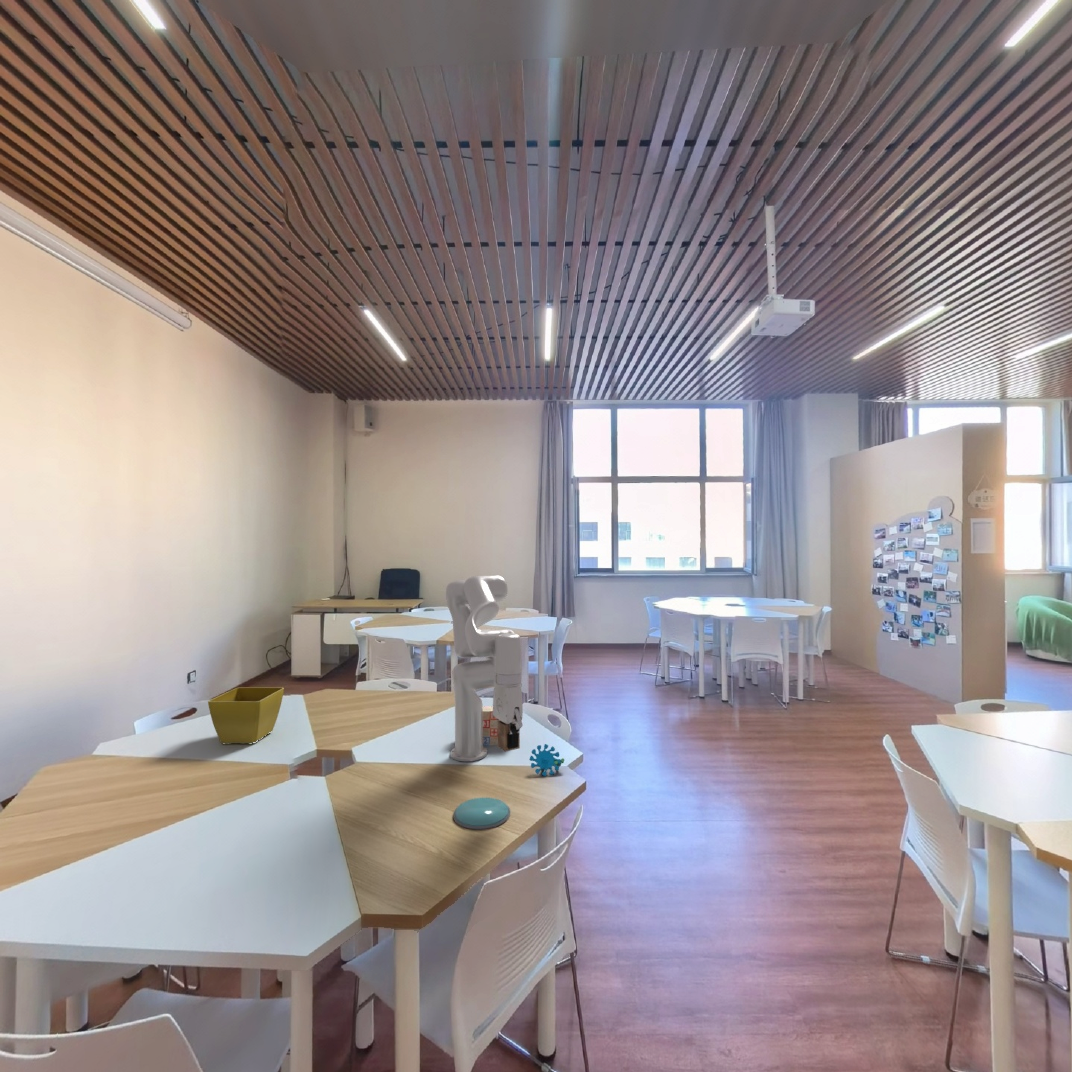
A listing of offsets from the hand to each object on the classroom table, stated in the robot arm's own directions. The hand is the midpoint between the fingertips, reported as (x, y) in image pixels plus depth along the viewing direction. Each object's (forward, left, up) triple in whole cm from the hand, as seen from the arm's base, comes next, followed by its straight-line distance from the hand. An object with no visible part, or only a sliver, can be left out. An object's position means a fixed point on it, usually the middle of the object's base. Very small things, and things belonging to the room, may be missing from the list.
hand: (508, 744), depth 145 cm
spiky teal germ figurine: (-13, +20, -17) cm, 29 cm away
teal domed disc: (+2, -9, -16) cm, 19 cm away
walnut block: (0, 0, -1) cm, 1 cm away
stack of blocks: (-46, +14, -17) cm, 51 cm away
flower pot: (-94, -64, -17) cm, 115 cm away
